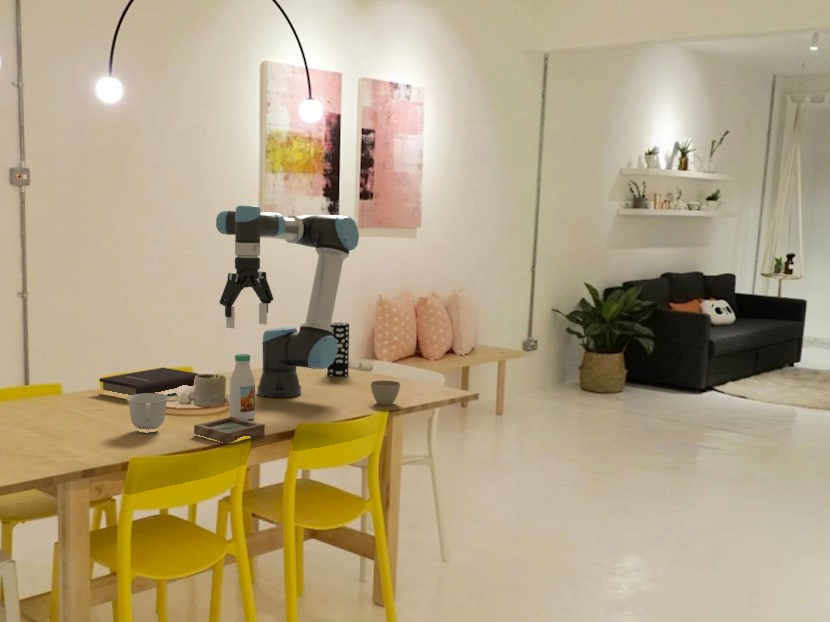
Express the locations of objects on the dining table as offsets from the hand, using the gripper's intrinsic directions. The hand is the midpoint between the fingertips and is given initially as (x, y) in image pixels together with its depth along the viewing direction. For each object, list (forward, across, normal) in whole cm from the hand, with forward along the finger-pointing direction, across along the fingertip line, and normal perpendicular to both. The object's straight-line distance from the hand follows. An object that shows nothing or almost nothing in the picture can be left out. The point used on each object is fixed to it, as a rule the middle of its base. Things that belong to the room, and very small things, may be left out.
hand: (246, 326), depth 286 cm
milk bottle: (+29, -1, +1) cm, 29 cm away
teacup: (+29, -31, +8) cm, 43 cm away
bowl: (+29, +46, -19) cm, 57 cm away
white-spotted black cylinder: (+29, +75, +27) cm, 84 cm away
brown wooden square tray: (+29, -18, -12) cm, 36 cm away
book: (+29, +6, +53) cm, 61 cm away
